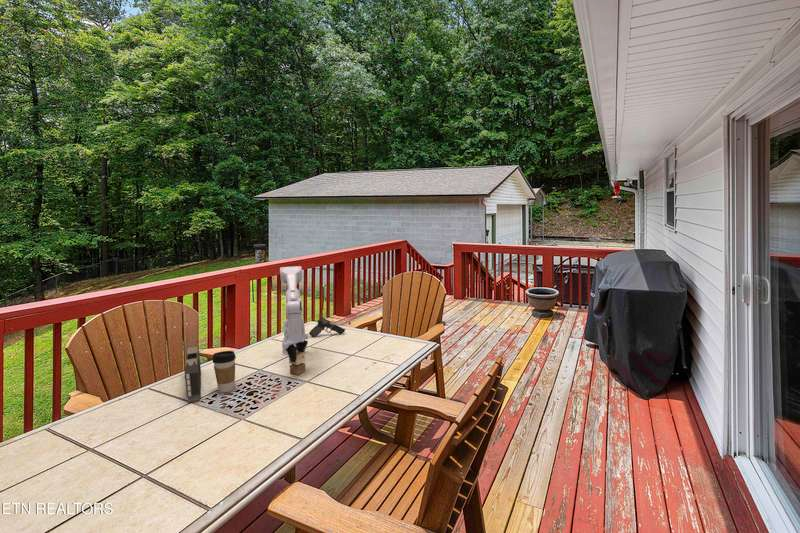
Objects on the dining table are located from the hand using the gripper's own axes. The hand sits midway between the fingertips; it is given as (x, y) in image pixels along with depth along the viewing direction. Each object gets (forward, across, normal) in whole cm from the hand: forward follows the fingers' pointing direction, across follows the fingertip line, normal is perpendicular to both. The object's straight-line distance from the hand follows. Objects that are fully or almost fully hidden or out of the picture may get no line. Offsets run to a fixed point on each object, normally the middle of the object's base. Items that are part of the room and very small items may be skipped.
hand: (297, 359), depth 173 cm
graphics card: (+7, -25, +32) cm, 41 cm away
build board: (+7, 0, +3) cm, 7 cm away
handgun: (+7, +51, +20) cm, 55 cm away
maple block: (+1, 0, 0) cm, 1 cm away
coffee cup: (+7, -22, +17) cm, 29 cm away
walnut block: (+6, 0, 0) cm, 6 cm away
